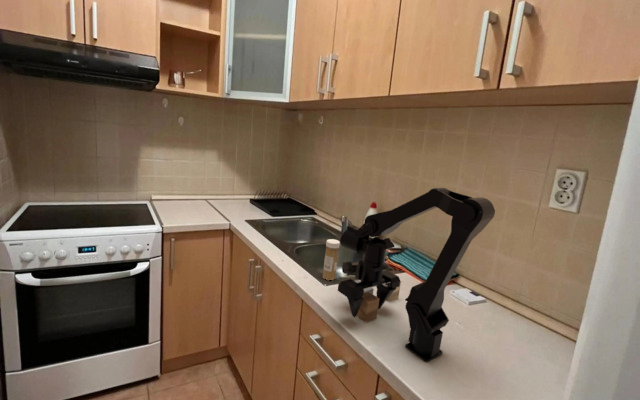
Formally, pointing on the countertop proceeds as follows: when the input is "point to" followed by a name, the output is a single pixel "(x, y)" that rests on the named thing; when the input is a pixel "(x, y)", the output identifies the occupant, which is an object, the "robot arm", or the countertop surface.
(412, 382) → the countertop surface
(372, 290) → the tile block
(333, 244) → the sprinkles bottle
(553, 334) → the countertop surface
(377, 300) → the walnut block
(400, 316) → the countertop surface
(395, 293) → the maple block
